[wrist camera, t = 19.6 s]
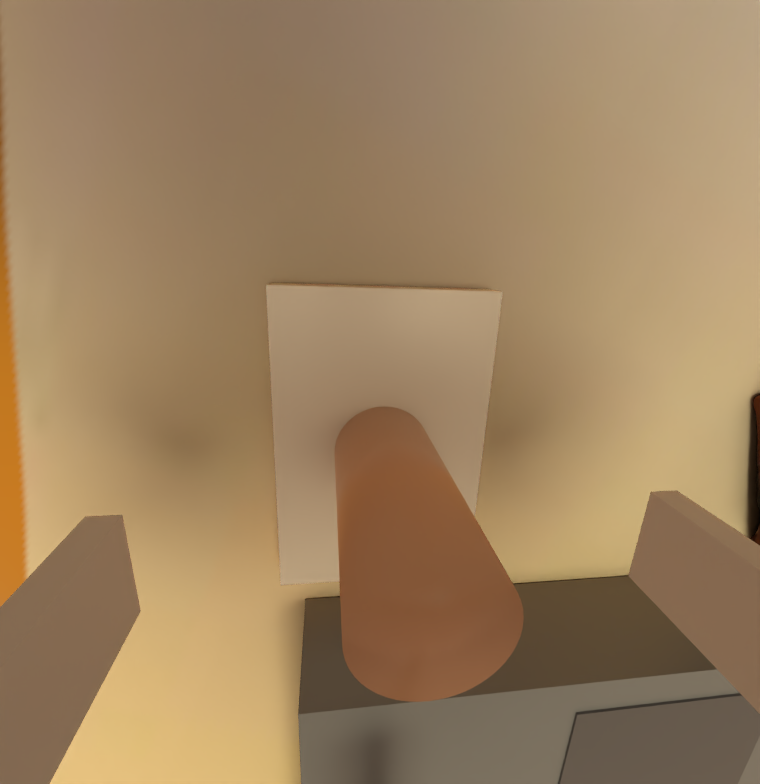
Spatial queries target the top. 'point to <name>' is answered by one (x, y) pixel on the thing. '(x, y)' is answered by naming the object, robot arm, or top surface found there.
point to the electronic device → (757, 462)
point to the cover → (391, 477)
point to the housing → (538, 704)
